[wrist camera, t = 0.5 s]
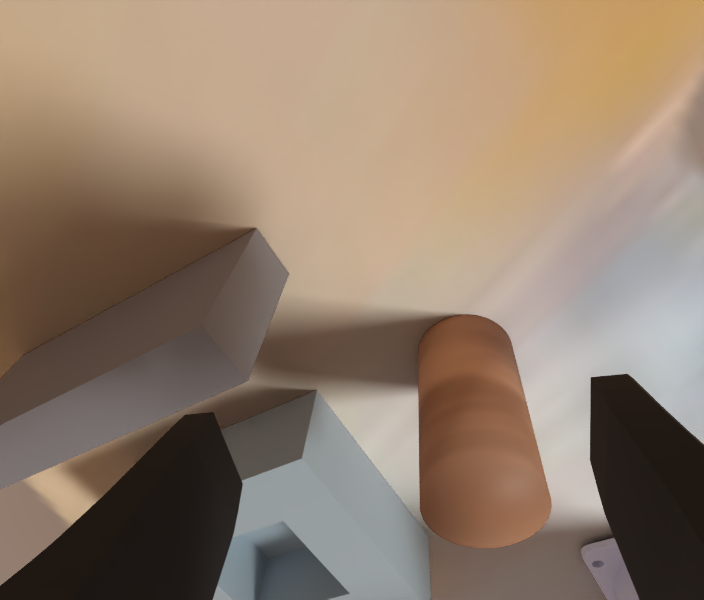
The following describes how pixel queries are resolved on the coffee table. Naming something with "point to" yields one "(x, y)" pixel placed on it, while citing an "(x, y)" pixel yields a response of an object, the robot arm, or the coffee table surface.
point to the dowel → (476, 438)
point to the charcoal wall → (140, 359)
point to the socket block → (317, 515)
